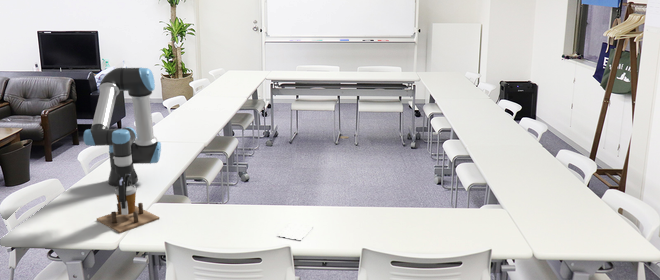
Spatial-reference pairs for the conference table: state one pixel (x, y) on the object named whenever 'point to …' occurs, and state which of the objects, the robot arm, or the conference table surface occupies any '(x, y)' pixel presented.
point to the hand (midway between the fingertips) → (127, 210)
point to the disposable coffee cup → (128, 198)
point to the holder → (127, 219)
